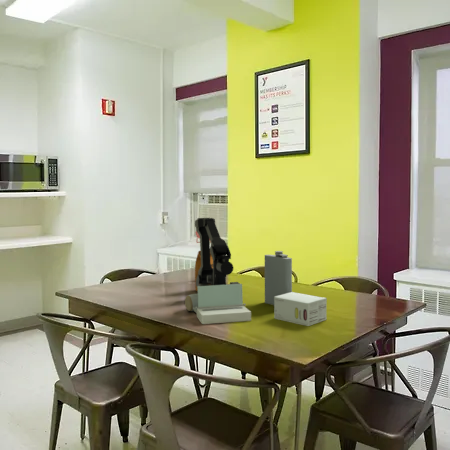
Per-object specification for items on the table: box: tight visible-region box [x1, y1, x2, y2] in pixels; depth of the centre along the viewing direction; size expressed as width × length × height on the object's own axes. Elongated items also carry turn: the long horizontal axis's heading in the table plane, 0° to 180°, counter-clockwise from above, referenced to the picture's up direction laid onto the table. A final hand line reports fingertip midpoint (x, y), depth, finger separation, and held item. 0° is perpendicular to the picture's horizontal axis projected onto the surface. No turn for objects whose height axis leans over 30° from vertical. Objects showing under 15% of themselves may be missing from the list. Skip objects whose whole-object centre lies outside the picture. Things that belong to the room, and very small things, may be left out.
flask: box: [264, 250, 293, 306], centre depth 212 cm, size 17×5×25 cm, turn 31°
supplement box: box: [273, 291, 328, 327], centre depth 189 cm, size 17×13×9 cm
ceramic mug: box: [184, 292, 198, 314], centre depth 203 cm, size 11×8×8 cm
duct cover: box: [197, 283, 244, 309], centre depth 195 cm, size 19×9×1 cm
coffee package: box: [194, 250, 213, 292], centre depth 246 cm, size 10×12×22 cm
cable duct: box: [195, 303, 252, 325], centre depth 191 cm, size 21×12×4 cm, turn 104°
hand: (219, 306), depth 207 cm, fingers closed
